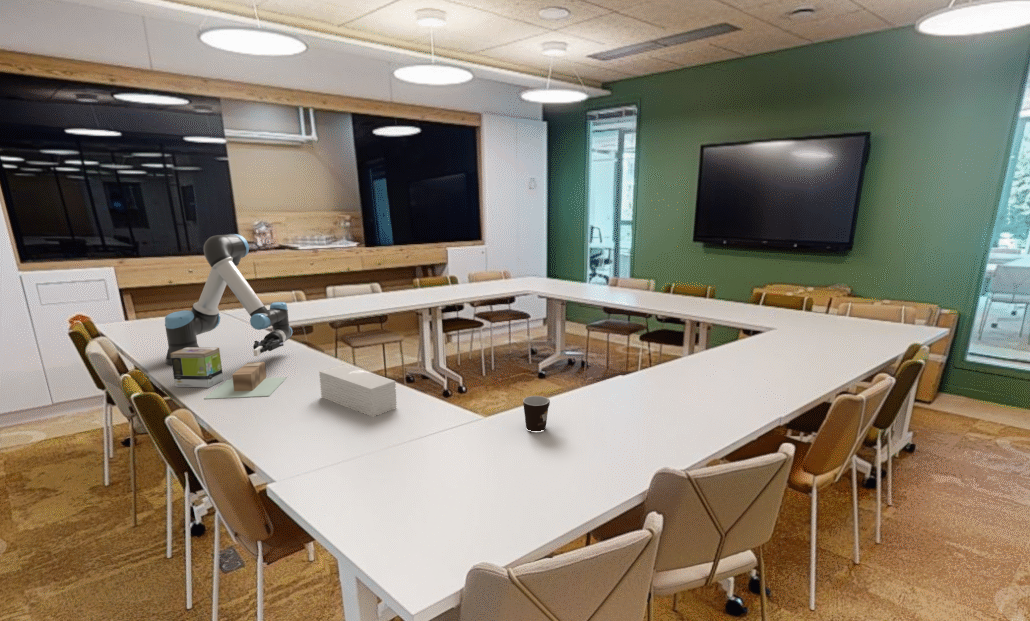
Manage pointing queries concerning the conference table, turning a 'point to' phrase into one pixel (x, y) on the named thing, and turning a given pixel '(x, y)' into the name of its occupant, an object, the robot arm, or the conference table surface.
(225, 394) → the mat
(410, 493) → the conference table surface
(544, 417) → the coffee mug
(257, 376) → the walnut block
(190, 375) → the tea box
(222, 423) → the conference table surface
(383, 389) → the stack of papers
